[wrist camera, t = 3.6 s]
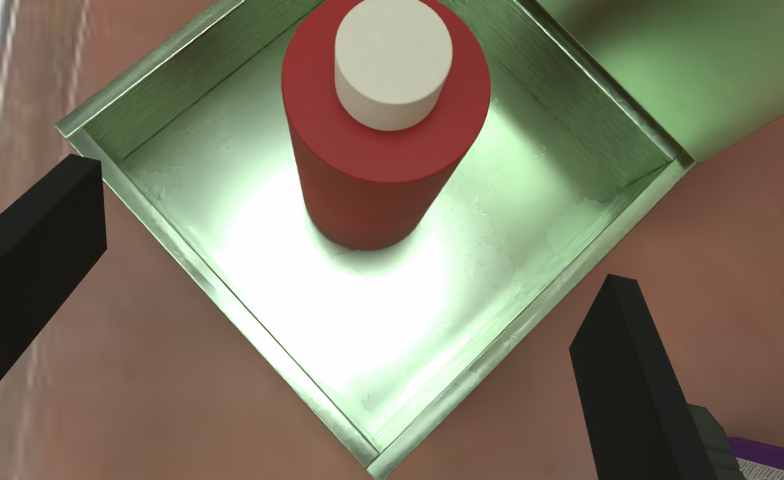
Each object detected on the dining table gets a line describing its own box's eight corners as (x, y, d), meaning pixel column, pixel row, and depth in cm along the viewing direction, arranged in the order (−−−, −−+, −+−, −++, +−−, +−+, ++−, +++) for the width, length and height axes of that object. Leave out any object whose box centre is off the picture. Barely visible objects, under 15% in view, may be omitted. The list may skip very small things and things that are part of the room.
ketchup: (275, 184, 29) (223, 35, 15) (369, 104, 30) (399, -102, 16) (362, 277, 28) (389, 212, 15) (454, 193, 30) (558, 58, 16)
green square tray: (371, 460, 28) (379, 485, 23) (102, 164, 29) (52, 125, 24) (637, 193, 31) (698, 162, 26) (388, -62, 33) (398, -140, 27)
